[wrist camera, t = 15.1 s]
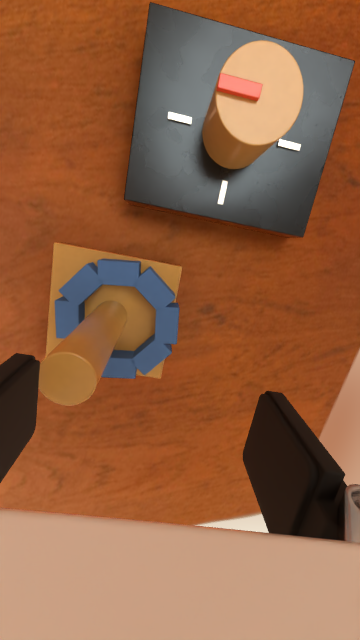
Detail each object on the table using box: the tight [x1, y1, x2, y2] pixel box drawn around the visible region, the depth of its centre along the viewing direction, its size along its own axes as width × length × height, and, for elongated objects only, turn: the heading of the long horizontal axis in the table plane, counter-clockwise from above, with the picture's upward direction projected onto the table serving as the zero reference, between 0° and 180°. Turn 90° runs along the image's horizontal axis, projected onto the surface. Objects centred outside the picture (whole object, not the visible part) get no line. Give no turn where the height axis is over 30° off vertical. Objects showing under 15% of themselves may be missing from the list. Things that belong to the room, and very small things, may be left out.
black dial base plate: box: [124, 2, 355, 238], centre depth 18 cm, size 12×10×3 cm
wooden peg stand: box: [38, 242, 182, 405], centre depth 17 cm, size 9×9×11 cm
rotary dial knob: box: [202, 40, 303, 169], centre depth 15 cm, size 4×4×5 cm
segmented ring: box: [54, 259, 179, 379], centre depth 20 cm, size 8×8×2 cm
